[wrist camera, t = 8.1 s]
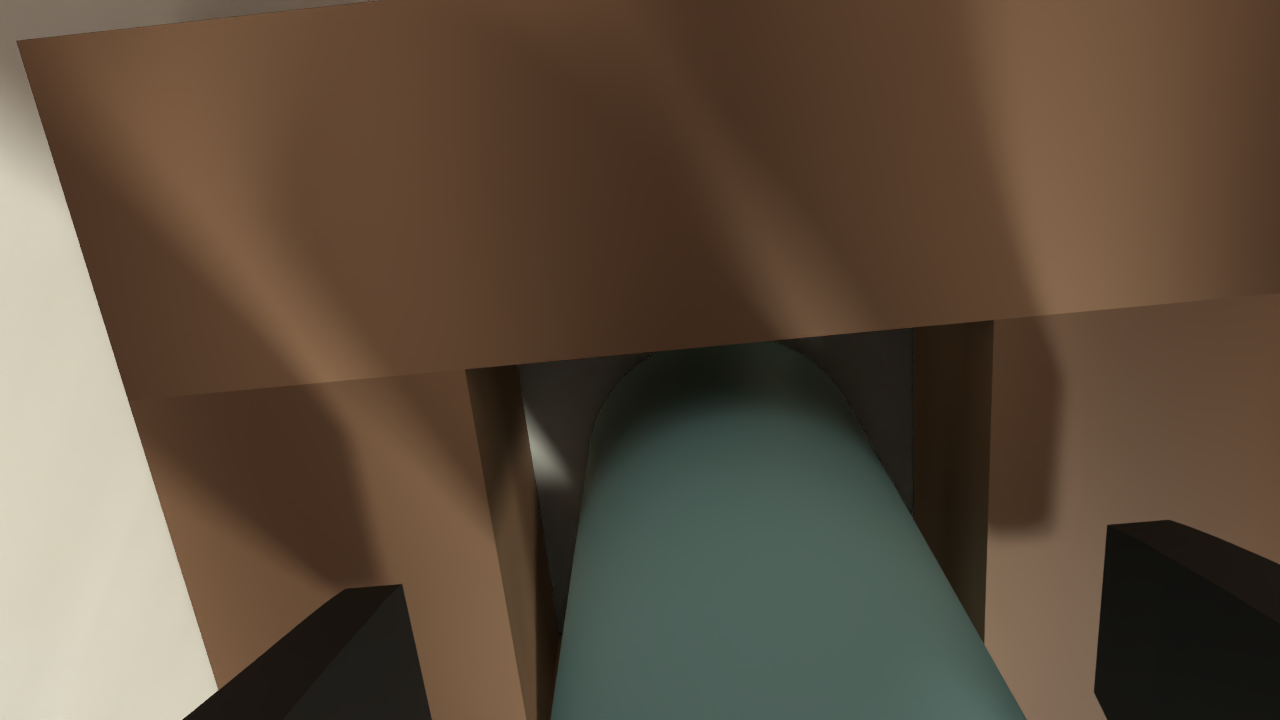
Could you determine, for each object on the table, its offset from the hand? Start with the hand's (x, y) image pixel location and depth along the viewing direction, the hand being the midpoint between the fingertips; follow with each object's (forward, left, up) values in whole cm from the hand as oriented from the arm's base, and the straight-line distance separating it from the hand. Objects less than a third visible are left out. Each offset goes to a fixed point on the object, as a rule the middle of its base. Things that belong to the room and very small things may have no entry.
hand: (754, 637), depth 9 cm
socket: (0, 0, -4) cm, 4 cm away
